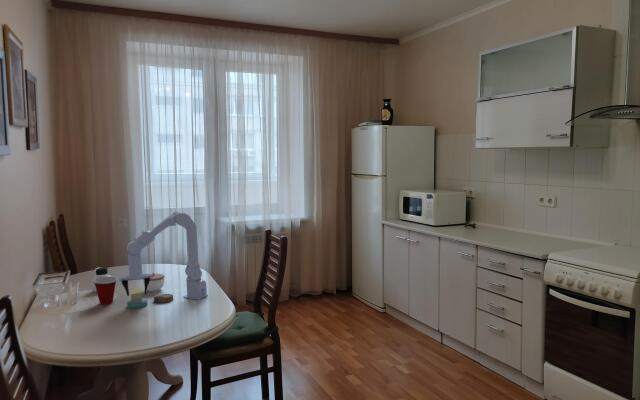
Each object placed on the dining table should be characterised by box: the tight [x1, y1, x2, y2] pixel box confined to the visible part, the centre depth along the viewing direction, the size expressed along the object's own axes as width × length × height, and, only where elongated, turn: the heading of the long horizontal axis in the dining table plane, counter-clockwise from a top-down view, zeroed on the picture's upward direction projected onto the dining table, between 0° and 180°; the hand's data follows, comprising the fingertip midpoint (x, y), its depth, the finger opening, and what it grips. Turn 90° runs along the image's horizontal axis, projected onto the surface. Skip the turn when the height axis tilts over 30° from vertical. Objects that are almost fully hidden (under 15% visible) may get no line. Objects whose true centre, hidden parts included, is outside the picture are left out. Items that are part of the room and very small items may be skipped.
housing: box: [130, 288, 143, 304], centre depth 225 cm, size 7×4×5 cm, turn 19°
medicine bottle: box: [91, 266, 112, 292], centre depth 252 cm, size 7×7×12 cm
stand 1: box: [126, 297, 148, 310], centre depth 225 cm, size 9×9×2 cm
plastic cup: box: [93, 276, 118, 306], centre depth 229 cm, size 11×11×12 cm
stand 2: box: [153, 293, 174, 304], centre depth 233 cm, size 9×9×2 cm
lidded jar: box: [142, 272, 165, 293], centre depth 249 cm, size 11×11×9 cm
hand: (136, 294), depth 225 cm, fingers open, 7 cm apart
